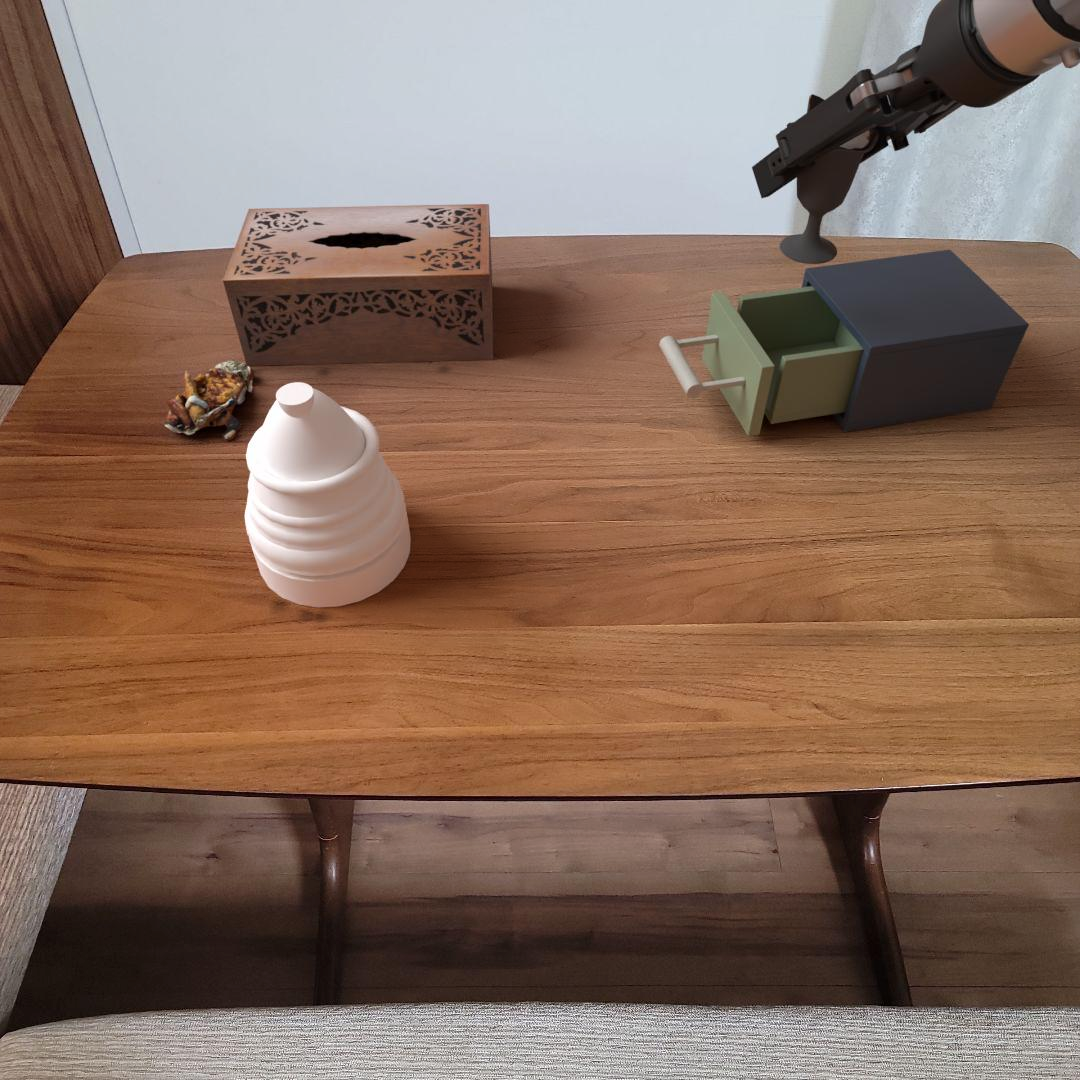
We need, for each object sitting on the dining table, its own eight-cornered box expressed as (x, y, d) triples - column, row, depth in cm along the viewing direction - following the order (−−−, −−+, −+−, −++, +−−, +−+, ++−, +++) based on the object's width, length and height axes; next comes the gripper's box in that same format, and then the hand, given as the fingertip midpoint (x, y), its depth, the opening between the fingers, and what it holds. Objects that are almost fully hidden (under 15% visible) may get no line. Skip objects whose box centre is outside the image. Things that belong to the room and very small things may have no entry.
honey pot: (418, 594, 75) (393, 421, 62) (257, 619, 74) (196, 447, 61) (403, 487, 84) (377, 316, 71) (258, 507, 82) (204, 336, 69)
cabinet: (844, 432, 89) (871, 347, 82) (786, 350, 98) (805, 268, 91) (991, 408, 92) (1029, 324, 85) (921, 331, 101) (950, 249, 94)
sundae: (850, 272, 78) (901, 87, 67) (770, 266, 79) (807, 81, 68) (845, 234, 83) (892, 54, 72) (769, 228, 83) (803, 49, 72)
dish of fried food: (262, 366, 97) (254, 337, 94) (236, 441, 88) (226, 412, 86) (194, 366, 97) (185, 337, 94) (162, 442, 88) (151, 412, 86)
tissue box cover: (492, 285, 107) (488, 204, 100) (493, 359, 98) (489, 274, 90) (268, 290, 107) (248, 208, 99) (246, 365, 97) (222, 280, 90)
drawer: (689, 445, 87) (700, 376, 81) (648, 367, 95) (655, 299, 89) (889, 413, 90) (912, 345, 84) (831, 340, 98) (849, 273, 92)
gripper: (910, 110, 54) (713, 242, 76) (1139, 53, 61) (896, 190, 82) (872, -16, 54) (685, 153, 75) (1107, -61, 60) (871, 107, 82)
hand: (795, 172), depth 79 cm, fingers closed on sundae, 7 cm apart
